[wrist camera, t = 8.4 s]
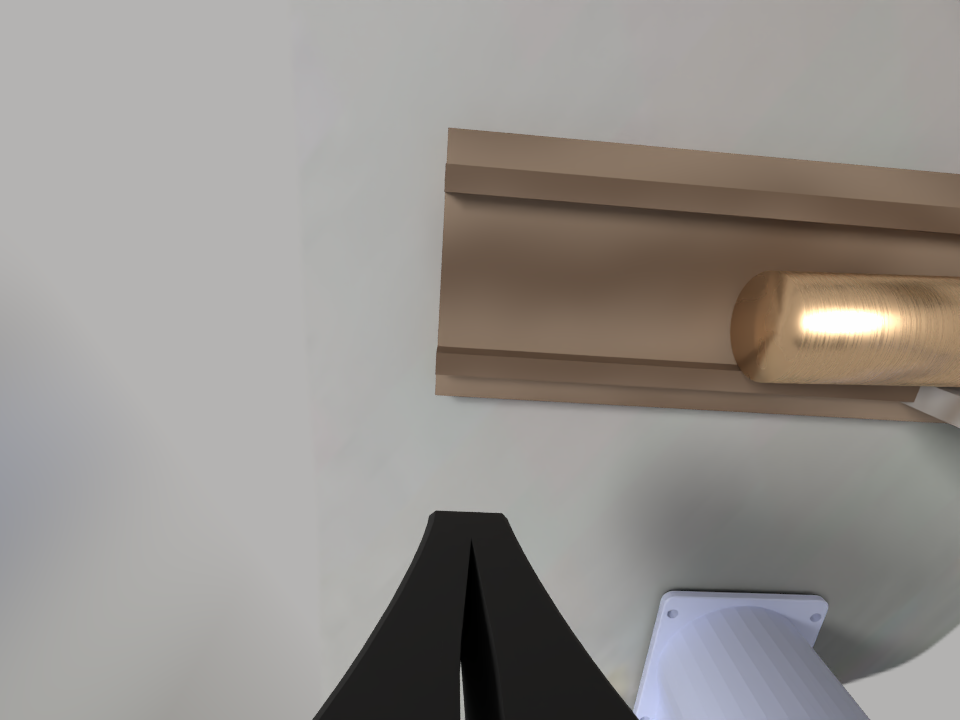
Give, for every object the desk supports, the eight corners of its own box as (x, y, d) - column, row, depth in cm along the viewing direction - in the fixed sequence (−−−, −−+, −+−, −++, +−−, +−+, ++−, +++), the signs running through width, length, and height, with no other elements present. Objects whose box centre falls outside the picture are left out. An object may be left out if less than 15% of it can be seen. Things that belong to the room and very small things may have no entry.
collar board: (1056, 420, 20) (1324, 514, 14) (436, 385, 18) (424, 474, 12) (1170, 198, 17) (1570, 191, 11) (449, 132, 15) (441, 81, 9)
